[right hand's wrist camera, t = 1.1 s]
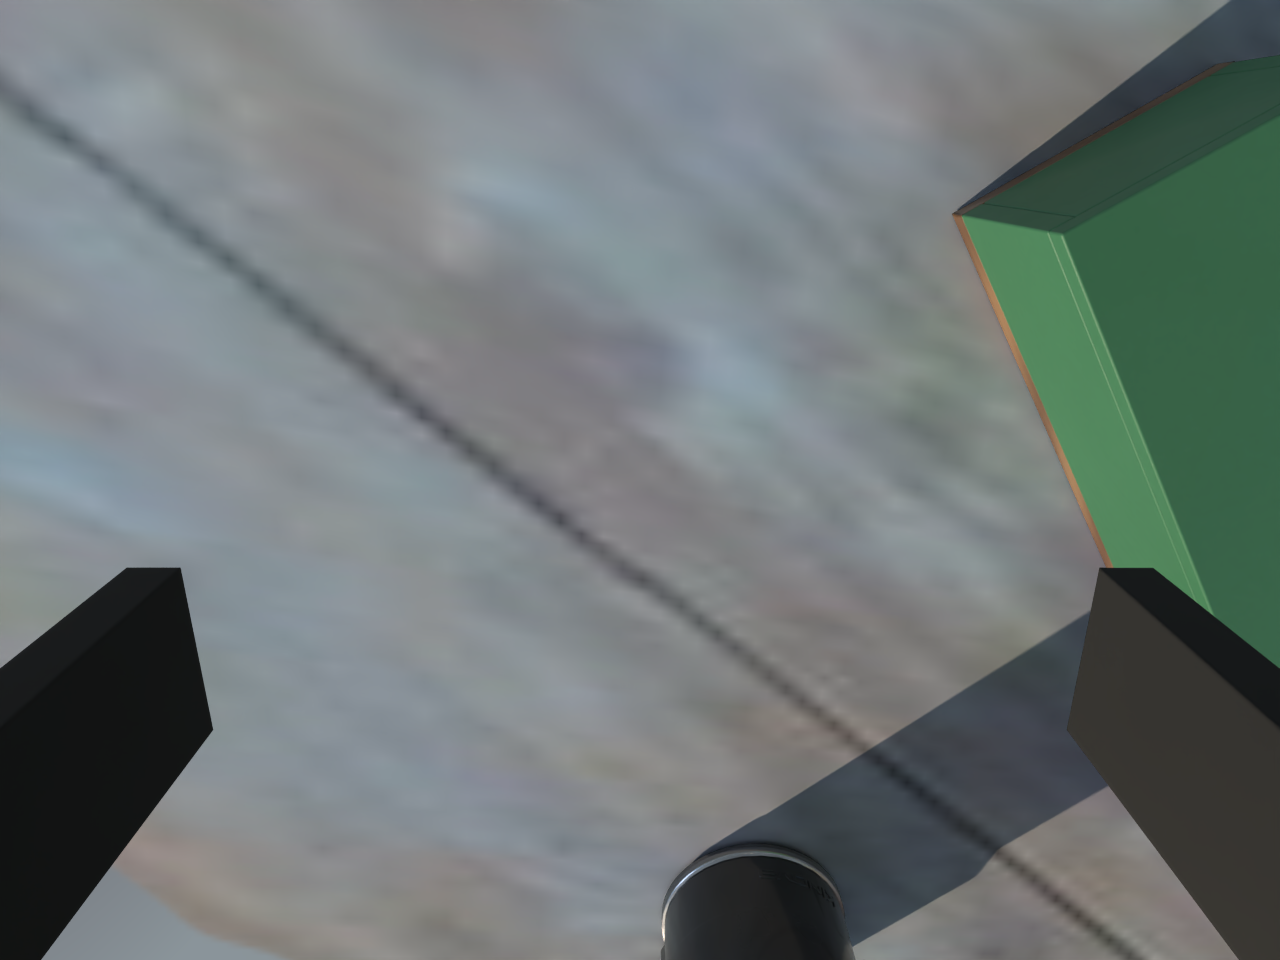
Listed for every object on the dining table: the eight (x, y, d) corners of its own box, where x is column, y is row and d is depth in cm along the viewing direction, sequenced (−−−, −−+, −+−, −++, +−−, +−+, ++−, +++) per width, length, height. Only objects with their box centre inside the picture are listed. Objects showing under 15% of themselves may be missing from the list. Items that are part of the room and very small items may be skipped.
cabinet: (1341, 457, 37) (1555, 550, 28) (1106, 569, 39) (1240, 687, 30) (1217, 63, 32) (1433, 30, 23) (951, 213, 33) (1060, 234, 25)
